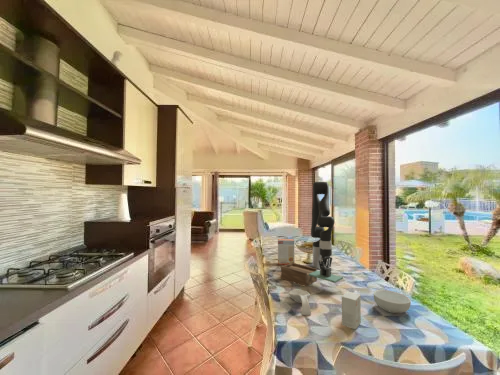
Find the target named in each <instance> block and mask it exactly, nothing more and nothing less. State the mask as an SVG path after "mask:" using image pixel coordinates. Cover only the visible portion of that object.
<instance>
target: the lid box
mask: <svg viewBox="0 0 500 375" xmlns="http://www.w3.org/2000/svg"><path fill="white" fill-rule="evenodd" d="M280 268H281V269H280V279H282V280H285V281H287V282H291V283H294V284H297V285H299V286H303V287H308V286H310V285H311V284H313V283H316V282H318V281H317V280H318V278H316V277H313V276H309V274H310V273H312V272H314V271H318V269H316V268H313V266H312V267H311V266H307V265H304V264H300V263H296V262H294V263H290V264H287V265H281V266H280Z"/></svg>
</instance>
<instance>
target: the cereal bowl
mask: <svg viewBox="0 0 500 375" xmlns="http://www.w3.org/2000/svg"><path fill="white" fill-rule="evenodd" d="M373 300H374V302H375V304H376V305H377V306H378V307H380V308H381V309H383V310H384V311H386V312H388V313H391V314H399V313H405V312H408V310H410V308H411V302H412V300H411V299H410V298H409V296H407V295H405V294H402V293H400V292H397V291H393V290H387V289H378V290H375V291H374V292H373Z"/></svg>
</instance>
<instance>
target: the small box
mask: <svg viewBox="0 0 500 375" xmlns="http://www.w3.org/2000/svg"><path fill="white" fill-rule="evenodd" d="M361 298H362V297H361V294H359V293H356V292H352V291H348V290H347V291H346V292H345V293H344V294H342V296H341V325H342V326H343V327H347V328H350V329H353V330H357V329H358V327H359V325H360V324H361V323H362V321H361V320H362V318H361V316H362V315H361V314H362V312H361V311H362V310H361V308H362V305H361V304H362V302H361Z"/></svg>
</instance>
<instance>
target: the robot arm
mask: <svg viewBox="0 0 500 375" xmlns="http://www.w3.org/2000/svg"><path fill="white" fill-rule="evenodd" d="M312 184H313V185H312V209H311V210H312V211H311V228H310V236H311V238H313V239H317V240H316V241H313V242H312V268H316V269H317V270H320V269H322V275H324V276H326V267H328V268H331V267H332V261H333V257H331V256H332V255H333V246H332V243H333V242H332V232H333V228H334V226H335V218H334V217H333V216H329V215H331V210H330V187H329V183H328V182H327V181H314V182H313V183H312ZM318 195H323V197H322V198H321V199H320V197H319V196H318ZM325 228H327V229H326V230H325Z"/></svg>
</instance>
